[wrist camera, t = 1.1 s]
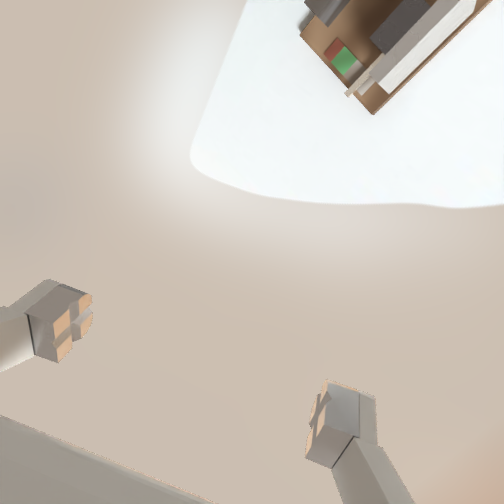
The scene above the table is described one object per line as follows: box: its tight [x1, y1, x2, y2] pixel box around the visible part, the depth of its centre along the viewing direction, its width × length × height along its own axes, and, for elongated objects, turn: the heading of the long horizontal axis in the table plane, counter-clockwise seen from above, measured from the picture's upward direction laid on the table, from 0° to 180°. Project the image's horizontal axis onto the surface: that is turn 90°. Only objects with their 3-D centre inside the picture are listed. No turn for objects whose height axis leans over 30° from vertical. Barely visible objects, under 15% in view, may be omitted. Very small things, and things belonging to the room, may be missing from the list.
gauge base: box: [300, 0, 492, 115], centre depth 35 cm, size 12×14×6 cm
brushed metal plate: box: [344, 0, 477, 98], centre depth 32 cm, size 5×12×9 cm, turn 135°
